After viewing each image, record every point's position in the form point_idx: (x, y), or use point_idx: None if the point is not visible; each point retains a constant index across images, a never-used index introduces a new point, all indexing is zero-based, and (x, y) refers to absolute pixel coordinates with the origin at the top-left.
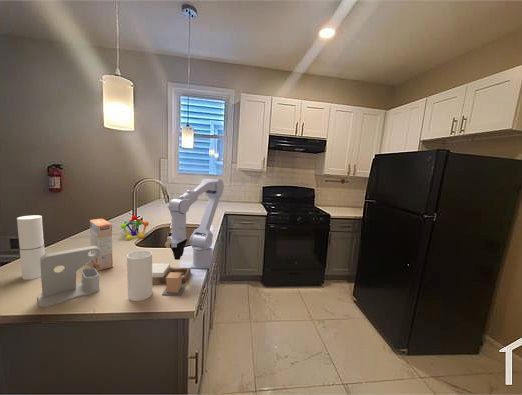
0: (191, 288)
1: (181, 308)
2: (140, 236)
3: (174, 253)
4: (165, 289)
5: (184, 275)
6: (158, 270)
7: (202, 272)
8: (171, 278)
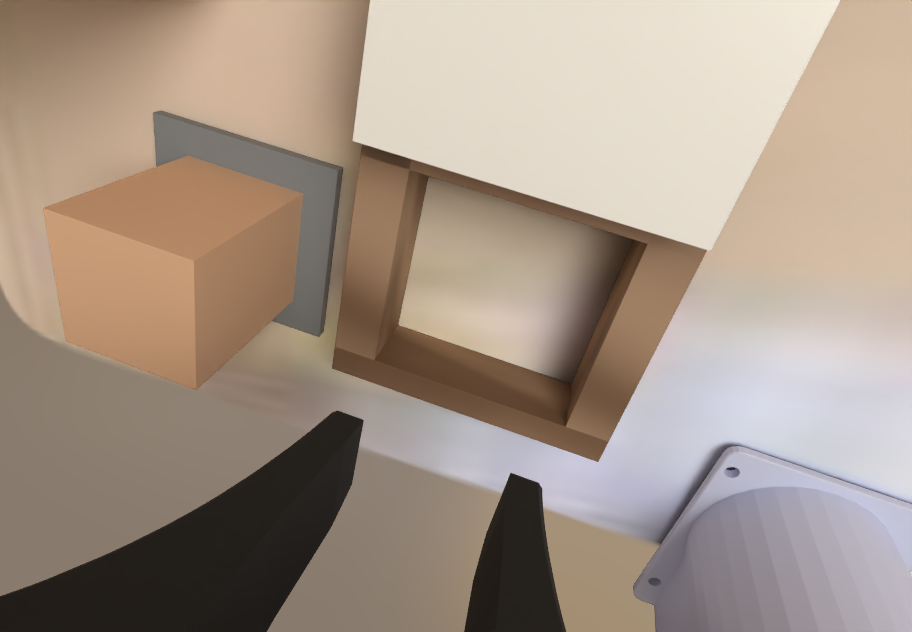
0: (278, 369)
1: (15, 266)
2: None
3: (246, 505)
4: (242, 145)
5: (399, 372)
6: (452, 49)
7: (573, 510)
8: (59, 266)
